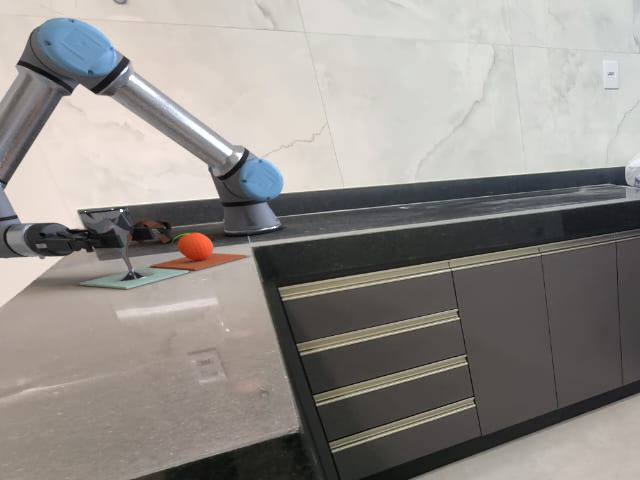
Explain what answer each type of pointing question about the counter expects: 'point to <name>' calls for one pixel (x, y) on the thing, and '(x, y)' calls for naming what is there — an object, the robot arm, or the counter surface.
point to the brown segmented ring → (156, 225)
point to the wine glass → (114, 233)
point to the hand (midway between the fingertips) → (136, 237)
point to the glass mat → (158, 275)
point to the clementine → (195, 246)
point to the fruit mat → (197, 262)
